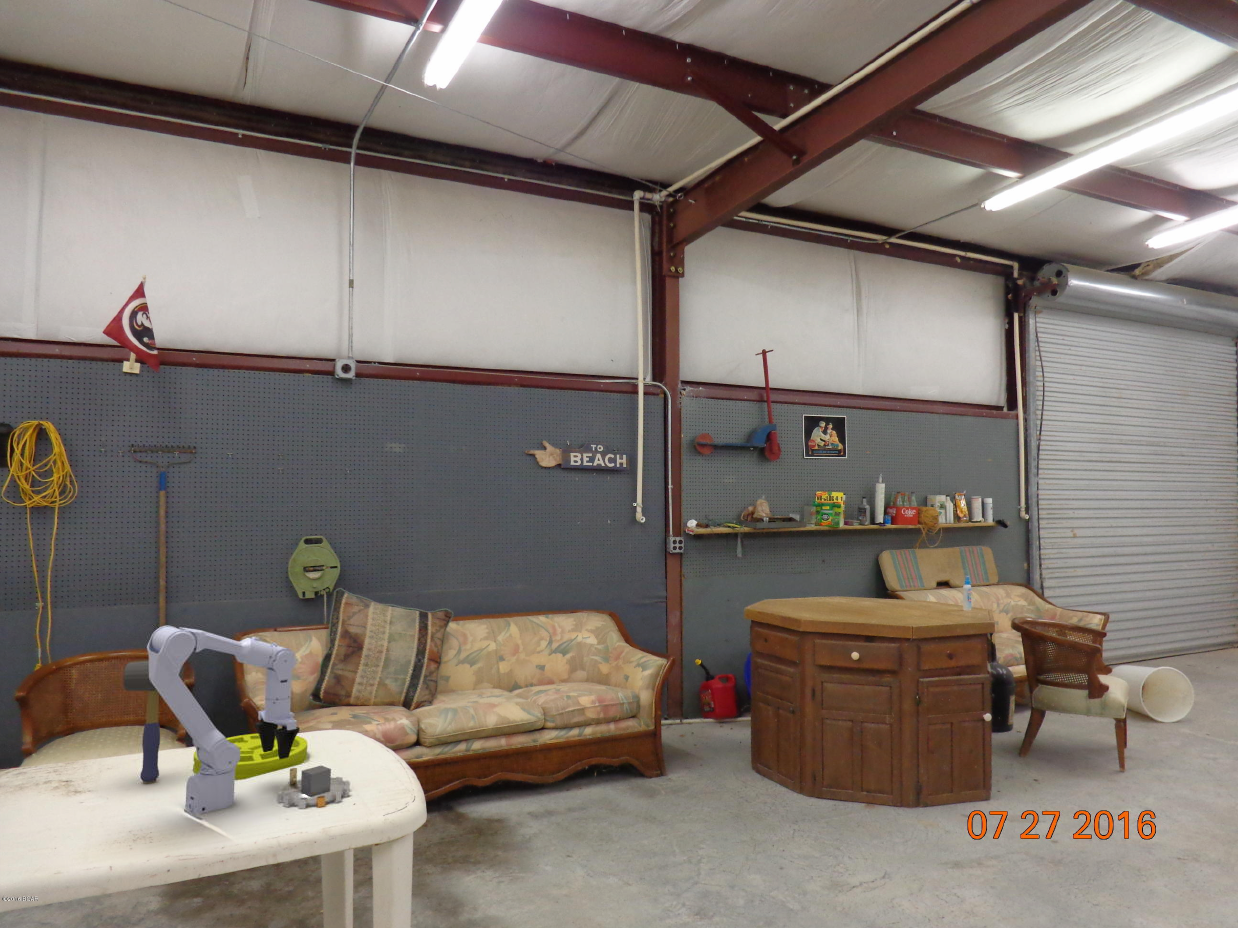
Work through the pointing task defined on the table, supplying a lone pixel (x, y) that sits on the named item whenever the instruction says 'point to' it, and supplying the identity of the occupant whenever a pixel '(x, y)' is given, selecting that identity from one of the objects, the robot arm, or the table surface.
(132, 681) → the rubber mallet
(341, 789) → the wheel
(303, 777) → the link block
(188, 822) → the table surface
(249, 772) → the pulley
